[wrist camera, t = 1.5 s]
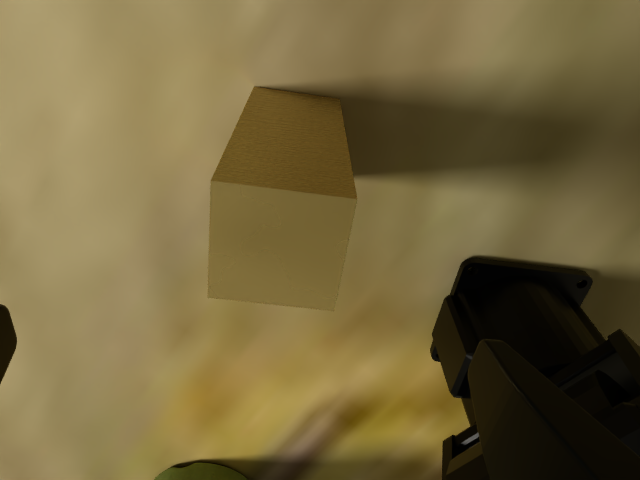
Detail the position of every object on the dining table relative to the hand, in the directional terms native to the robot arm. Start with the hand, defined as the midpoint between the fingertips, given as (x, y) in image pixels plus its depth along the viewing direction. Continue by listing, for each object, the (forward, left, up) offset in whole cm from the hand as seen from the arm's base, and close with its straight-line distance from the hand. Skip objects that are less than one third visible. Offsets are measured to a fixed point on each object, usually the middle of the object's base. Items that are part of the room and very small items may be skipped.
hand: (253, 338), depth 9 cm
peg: (0, 0, -12) cm, 12 cm away
